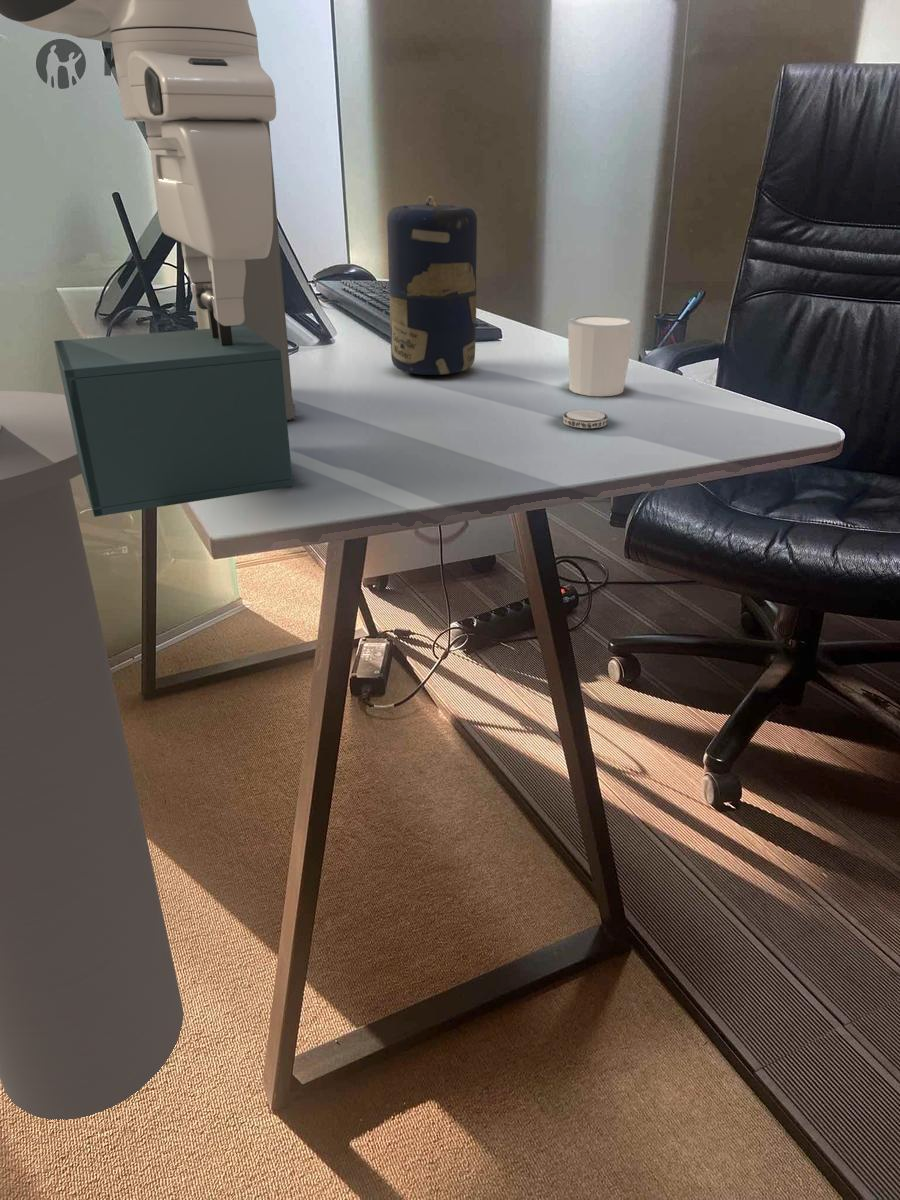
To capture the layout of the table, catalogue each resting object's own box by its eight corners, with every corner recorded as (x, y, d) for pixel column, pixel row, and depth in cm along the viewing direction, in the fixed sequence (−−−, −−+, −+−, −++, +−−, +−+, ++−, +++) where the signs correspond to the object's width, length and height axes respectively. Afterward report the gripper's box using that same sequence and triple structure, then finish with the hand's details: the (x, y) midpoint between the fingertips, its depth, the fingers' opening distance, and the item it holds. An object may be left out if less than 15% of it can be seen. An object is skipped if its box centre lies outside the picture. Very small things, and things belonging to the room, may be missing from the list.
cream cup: (588, 378, 94) (593, 312, 91) (641, 389, 90) (649, 320, 87) (550, 389, 90) (554, 320, 86) (604, 401, 86) (611, 329, 82)
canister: (474, 361, 101) (478, 193, 93) (475, 380, 93) (479, 198, 84) (394, 360, 101) (390, 192, 93) (387, 379, 93) (382, 197, 85)
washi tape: (615, 425, 78) (616, 418, 78) (578, 430, 76) (578, 423, 76) (591, 413, 81) (591, 407, 81) (555, 418, 80) (555, 412, 79)
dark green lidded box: (94, 517, 59) (52, 315, 52) (81, 472, 66) (43, 292, 60) (293, 486, 64) (276, 300, 58) (259, 448, 72) (241, 281, 66)
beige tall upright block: (198, 393, 88) (160, 113, 76) (256, 386, 90) (229, 114, 79) (229, 428, 77) (191, 108, 65) (295, 420, 79) (270, 109, 68)
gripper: (119, 96, 62) (150, 297, 68) (167, 79, 45) (202, 345, 52) (208, 98, 64) (229, 292, 71) (283, 83, 48) (302, 337, 54)
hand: (218, 315), depth 61 cm, fingers closed on dark green lidded box, 6 cm apart
